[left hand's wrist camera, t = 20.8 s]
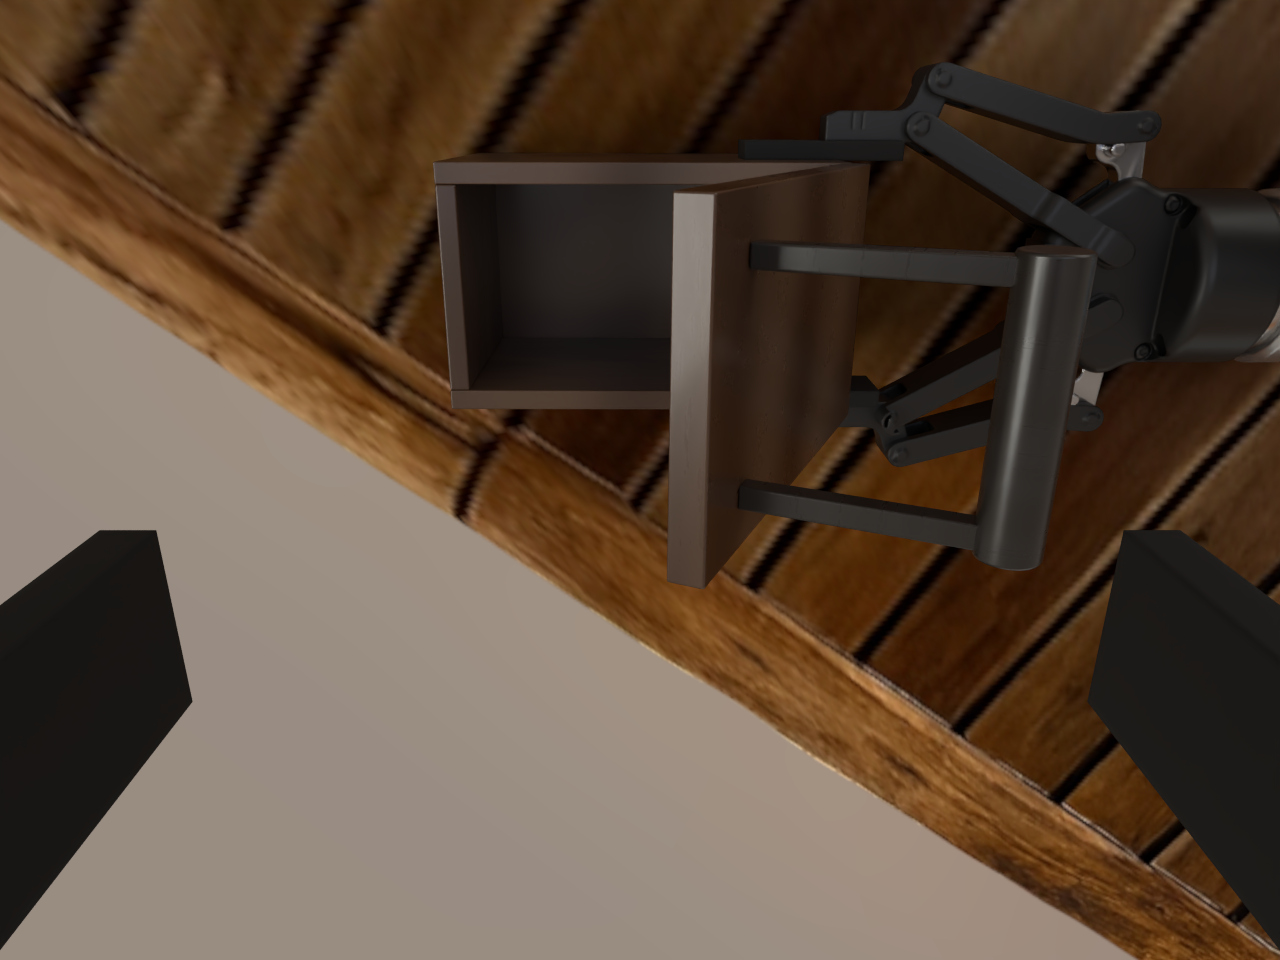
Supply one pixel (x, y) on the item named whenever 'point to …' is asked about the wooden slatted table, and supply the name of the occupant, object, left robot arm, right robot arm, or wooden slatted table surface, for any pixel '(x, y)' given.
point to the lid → (842, 368)
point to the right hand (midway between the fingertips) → (736, 276)
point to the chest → (566, 273)
